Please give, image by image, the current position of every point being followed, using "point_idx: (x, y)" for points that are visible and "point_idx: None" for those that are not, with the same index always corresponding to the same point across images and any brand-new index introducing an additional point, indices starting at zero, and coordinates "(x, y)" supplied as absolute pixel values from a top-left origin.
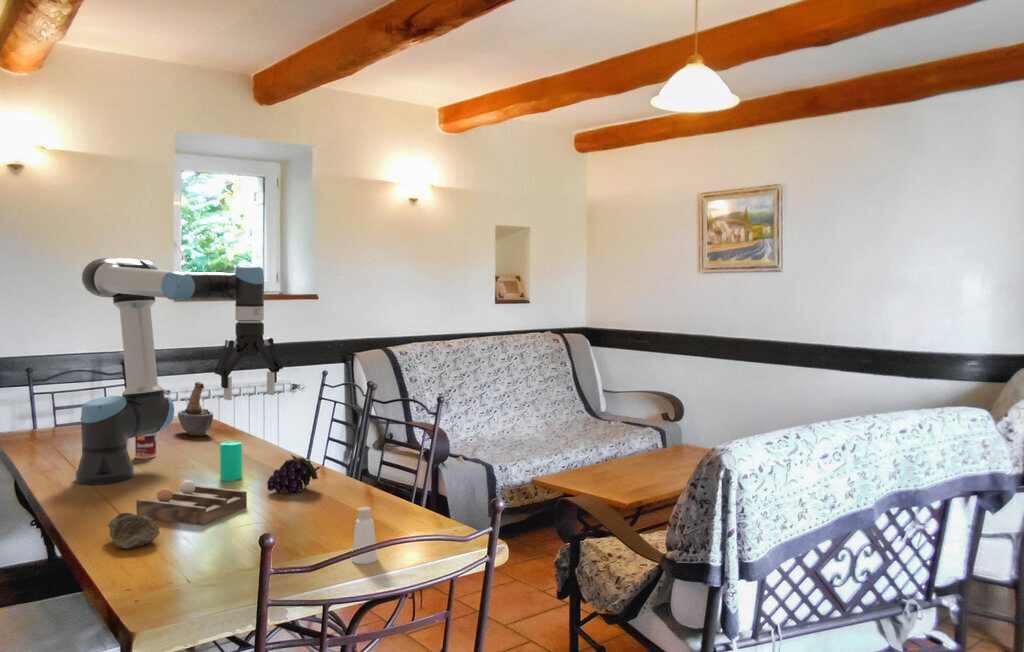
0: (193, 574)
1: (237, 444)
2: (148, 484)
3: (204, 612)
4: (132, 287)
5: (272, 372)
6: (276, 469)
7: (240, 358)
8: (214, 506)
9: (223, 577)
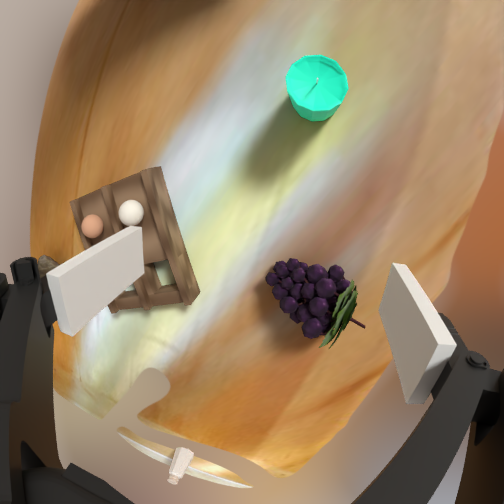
0: (84, 375)
1: (318, 110)
2: (185, 23)
3: (80, 407)
4: None
5: (412, 400)
6: (298, 277)
7: (53, 446)
8: (135, 301)
9: (98, 394)
